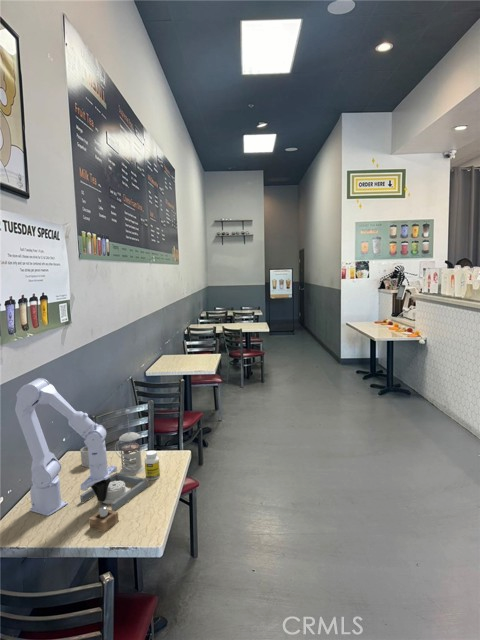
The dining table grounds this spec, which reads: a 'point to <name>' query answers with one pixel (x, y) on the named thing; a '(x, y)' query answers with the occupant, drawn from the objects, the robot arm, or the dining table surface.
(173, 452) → the dining table surface
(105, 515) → the pin
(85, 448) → the mug
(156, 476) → the supplement bottle
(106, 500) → the mechanical component
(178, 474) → the dining table surface
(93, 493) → the grey u-shaped bracket
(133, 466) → the french press
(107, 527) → the hollow wooden square
